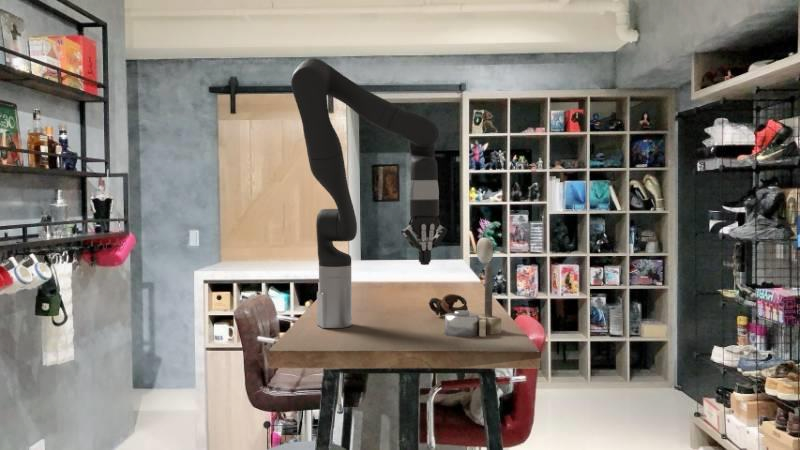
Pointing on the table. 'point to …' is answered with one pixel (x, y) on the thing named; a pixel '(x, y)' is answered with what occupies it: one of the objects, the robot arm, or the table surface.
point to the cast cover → (461, 324)
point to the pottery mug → (447, 304)
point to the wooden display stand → (487, 290)
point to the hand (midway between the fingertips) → (424, 264)
